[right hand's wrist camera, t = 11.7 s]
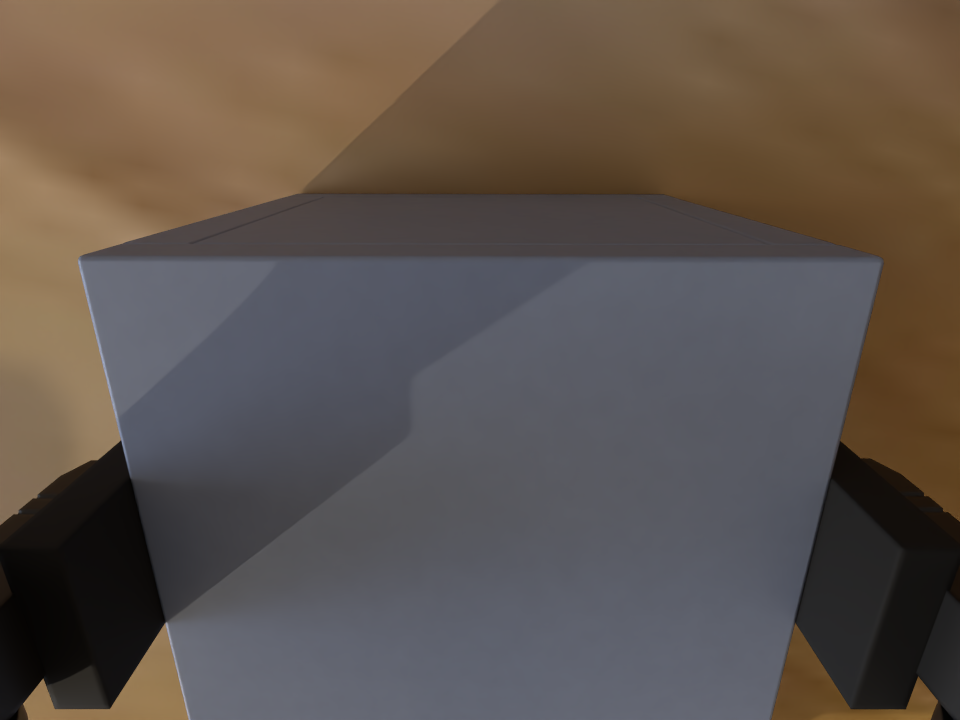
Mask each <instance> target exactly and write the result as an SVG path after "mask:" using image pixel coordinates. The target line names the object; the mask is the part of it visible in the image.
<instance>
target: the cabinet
mask: <svg viewBox="0 0 960 720" xmlns="http://www.w3.org/2000/svg"><path fill="white" fill-rule="evenodd" d="M78 264H79V268H80V272H81V276H82V280H83V284H84V288H85V293H86V297H87V301H88V305H89V309H90V313H91V317H92V322H93V326H94V330H95V334H96V338H97V342H98V346H99V350H100V355H101V359H102V363H103V367H104V371H105V375H106V379H107V383H108V388H109V392H110V396H111V400H112V404H113V408H114V412H115V417H116V421H117V425H118V429H119V433H120V437H121V441H122V445H123V450H124V454H125V458H126V462H127V466H128V470H129V474H130V479H131V483H132V487H133V491H134V495H135V499H136V503H137V507H138V512H139V516H140V520H141V524H142V528H143V532H144V536H145V540H146V545H147V549H148V553H149V557H150V561H151V565H152V569H153V574H154V578H155V582H156V586H157V590H158V594H159V598H160V602H161V607H162V611H163V615H164V619H165V623H166V627H167V631H168V635H169V640H170V644H171V648H172V652H173V656H174V660H175V664H176V669H177V673H178V677H179V681H180V685H181V689H182V693H183V697H184V702H185V706H186V710H187V714H188V718H189V720H771V718H772V714H773V710H774V706H775V702H776V698H777V694H778V690H779V686H780V682H781V678H782V674H783V670H784V666H785V661H786V657H787V653H788V649H789V645H790V641H791V637H792V633H793V629H794V625H795V621H796V617H797V613H798V609H799V605H800V601H801V597H802V593H803V589H804V584H805V580H806V576H807V572H808V568H809V564H810V560H811V556H812V552H813V548H814V544H815V540H816V536H817V532H818V528H819V524H820V520H821V516H822V512H823V507H824V503H825V499H826V495H827V491H828V487H829V483H830V479H831V475H832V471H833V467H834V463H835V459H836V455H837V451H838V447H839V443H840V439H841V435H842V431H843V426H844V422H845V418H846V414H847V410H848V406H849V402H850V398H851V394H852V390H853V386H854V382H855V378H856V374H857V370H858V366H859V362H860V358H861V354H862V349H863V345H864V341H865V337H866V333H867V329H868V325H869V321H870V317H871V313H872V309H873V305H874V301H875V297H876V293H877V289H878V285H879V281H880V277H881V272H882V268H883V264H884V262H883V259H882V258H881V257H879V256H876V255H872V254H869V253H865V252H862V251H858V250H855V249H851V248H848V247H844V246H841V245H835V244H833V243H830V242H826V241H823V240H819V239H816V238H812V237H809V236H806V235H802V234H799V233H795V232H792V231H788V230H785V229H781V228H778V227H774V226H771V225H767V224H764V223H760V222H757V221H753V220H750V219H746V218H743V217H739V216H736V215H732V214H729V213H725V212H722V211H718V210H715V209H711V208H708V207H704V206H701V205H697V204H694V203H691V202H687V201H684V200H680V199H677V198H674V197H670V196H667V195H663V194H295V195H292V196H288V197H284V198H281V199H277V200H274V201H270V202H267V203H263V204H260V205H256V206H252V207H249V208H245V209H242V210H238V211H235V212H231V213H228V214H224V215H221V216H217V217H214V218H210V219H207V220H203V221H199V222H196V223H192V224H189V225H185V226H182V227H178V228H175V229H171V230H168V231H164V232H161V233H157V234H153V235H150V236H146V237H143V238H139V239H136V240H132V241H129V242H125V243H123V244H120V245H116V246H113V247H109V248H106V249H102V250H99V251H95V252H92V253H88V254H85V255H82V256H80V257H79V259H78Z"/></svg>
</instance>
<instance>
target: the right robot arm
mask: <svg viewBox="0 0 960 720" xmlns="http://www.w3.org/2000/svg"><path fill="white" fill-rule="evenodd" d="M795 623H796V624H797V626H798V627H799V629H800V631H801V632H802V634H803V635H804V637H805V638H806V640H807V641H808V643H809V645H810V646H811V648H812V649H813V651H814V652H815V654H816V655H817V657H818V659H819V660H820V662H821V663H822V665H823V666H824V668H825V669H826V671H827V673H828V674H829V676H830V677H831V679H832V680H833V682H834V683H835V685H836V687H837V688H838V690H839V691H840V693H841V694H842V696H843V697H844V699H845V701H846V702H847V704H848V705H849V707H850V708H851V709H906V707H907V705H908V702H909V699H910V697H911V694H912V691H913V689H914V686H915V683H916V681H917V678H918V676H919V678H920V679H921V680H922V681H923V682H924V684H925V685H926V686H927V687H928V689H929V690H930V691H931V692H932V694H933V695H934V696H935V697H936V699H937V700H938V703H937V705H936V708H935V710H934V713H933V715H932V718H931V720H960V522H959V521H958V520H957V519H955V518H954V517H953V516H952V515H951V514H949V513H948V512H943V508H942V507H941V506H939V505H938V504H937V503H936V502H935V501H933V500H932V499H931V498H930V497H928V496H924V493H923V492H922V491H921V490H920V489H919V488H917V487H916V486H915V485H914V484H912V483H911V482H910V481H909V480H907V479H906V478H905V477H904V476H903V475H901V474H900V473H898V472H896V471H894V470H892V469H890V468H888V467H886V466H884V465H882V464H880V463H878V462H876V461H874V460H872V459H861V458H859V457H858V456H857V455H856V454H855V453H854V452H852V451H851V450H850V449H849V448H848V447H847V446H845V445H844V444H843V443H842V442H841V441H840V443H839V447H838V451H837V455H836V459H835V463H834V467H833V471H832V475H831V479H830V483H829V487H828V491H827V495H826V499H825V503H824V507H823V512H822V516H821V520H820V524H819V528H818V532H817V536H816V540H815V544H814V548H813V552H812V556H811V560H810V564H809V568H808V572H807V576H806V580H805V584H804V589H803V593H802V597H801V601H800V605H799V609H798V613H797V617H796V621H795ZM164 624H165V619H164V615H163V611H162V607H161V602H160V598H159V594H158V590H157V586H156V582H155V578H154V574H153V569H152V565H151V561H150V557H149V553H148V549H147V545H146V540H145V536H144V532H143V528H142V524H141V520H140V516H139V512H138V507H137V503H136V499H135V495H134V491H133V487H132V483H131V479H130V474H129V470H128V466H127V462H126V458H125V454H124V450H123V445H122V441H120V442H119V443H118V444H116V445H115V446H114V447H113V448H112V449H111V450H110V451H108V452H107V453H106V454H105V455H104V456H103V457H101V458H100V459H99V460H91V461H89V462H87V463H85V464H83V465H81V466H79V467H77V468H75V469H73V470H72V471H70V472H68V473H66V474H64V475H62V476H60V477H59V478H58V479H56V480H55V481H54V482H53V483H51V484H50V485H49V486H48V487H47V488H45V489H44V490H43V491H42V492H41V493H39V494H38V497H37V499H32V500H31V501H30V502H28V503H27V504H26V505H25V506H23V507H22V508H21V509H20V510H19V513H18V514H14V515H12V516H11V517H10V518H9V519H8V520H6V521H5V522H4V523H3V524H1V525H0V720H28V716H27V713H26V710H25V708H24V705H23V703H24V702H25V700H26V699H27V698H28V697H29V695H30V694H31V693H32V692H33V690H34V689H35V688H36V687H37V685H38V684H39V683H40V682H41V680H42V679H43V678H44V681H45V684H46V686H47V689H48V692H49V694H50V697H51V700H52V702H53V705H54V708H55V709H110V708H111V706H112V705H113V703H114V702H115V700H116V698H117V697H118V695H119V694H120V692H121V691H122V689H123V688H124V686H125V684H126V683H127V681H128V680H129V678H130V677H131V675H132V674H133V672H134V670H135V669H136V667H137V666H138V664H139V663H140V661H141V660H142V658H143V656H144V655H145V653H146V652H147V650H148V649H149V647H150V646H151V644H152V642H153V641H154V639H155V638H156V636H157V635H158V633H159V631H160V630H161V628H162V627H163V625H164Z"/></svg>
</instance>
